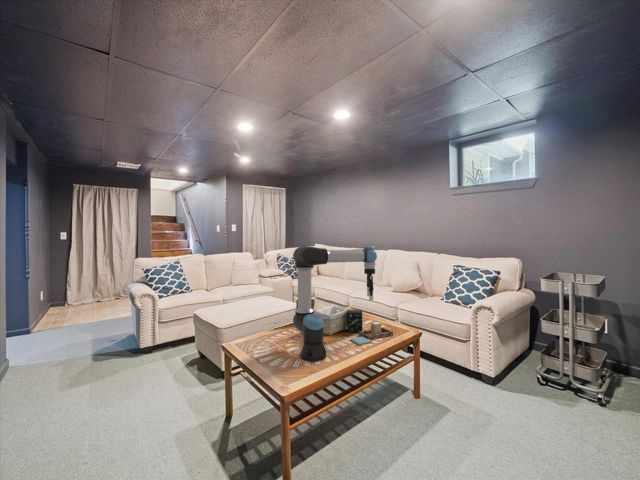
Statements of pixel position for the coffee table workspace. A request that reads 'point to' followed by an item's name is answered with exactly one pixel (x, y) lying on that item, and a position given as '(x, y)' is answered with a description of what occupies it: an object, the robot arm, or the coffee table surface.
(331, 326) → the storage basket
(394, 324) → the coffee table surface
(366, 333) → the walnut bin
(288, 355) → the coffee table surface
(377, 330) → the kraft box
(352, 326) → the tampon box
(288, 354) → the coffee table surface
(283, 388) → the coffee table surface
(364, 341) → the teal pad
